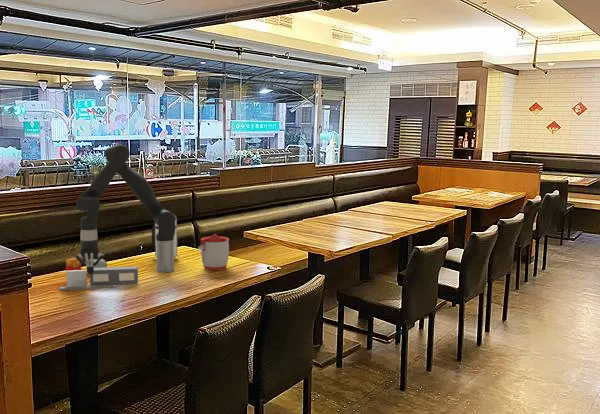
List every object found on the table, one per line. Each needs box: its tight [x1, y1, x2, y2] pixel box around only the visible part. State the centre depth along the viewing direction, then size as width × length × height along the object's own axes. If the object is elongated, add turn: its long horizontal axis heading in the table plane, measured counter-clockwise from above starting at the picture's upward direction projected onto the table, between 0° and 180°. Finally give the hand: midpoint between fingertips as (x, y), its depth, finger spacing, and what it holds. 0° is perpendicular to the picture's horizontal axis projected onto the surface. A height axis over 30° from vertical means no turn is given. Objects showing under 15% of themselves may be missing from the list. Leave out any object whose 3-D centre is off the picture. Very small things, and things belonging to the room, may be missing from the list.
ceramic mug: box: [94, 258, 108, 268], centre depth 285 cm, size 11×8×8 cm
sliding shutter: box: [65, 269, 88, 287], centre depth 255 cm, size 9×1×8 cm, turn 103°
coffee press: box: [151, 214, 180, 261], centre depth 314 cm, size 17×16×30 cm
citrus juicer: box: [197, 233, 230, 272], centre depth 296 cm, size 16×17×20 cm
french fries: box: [65, 256, 82, 272], centre depth 268 cm, size 8×4×12 cm, turn 152°
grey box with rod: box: [59, 265, 139, 292], centre depth 261 cm, size 35×10×8 cm, turn 103°
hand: (90, 274), depth 256 cm, fingers closed
